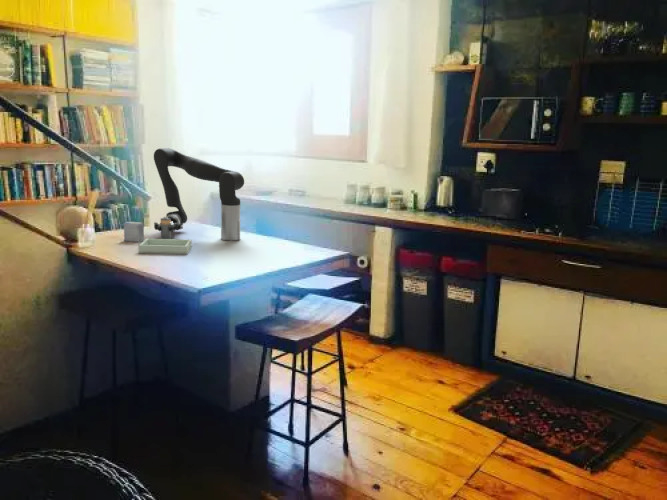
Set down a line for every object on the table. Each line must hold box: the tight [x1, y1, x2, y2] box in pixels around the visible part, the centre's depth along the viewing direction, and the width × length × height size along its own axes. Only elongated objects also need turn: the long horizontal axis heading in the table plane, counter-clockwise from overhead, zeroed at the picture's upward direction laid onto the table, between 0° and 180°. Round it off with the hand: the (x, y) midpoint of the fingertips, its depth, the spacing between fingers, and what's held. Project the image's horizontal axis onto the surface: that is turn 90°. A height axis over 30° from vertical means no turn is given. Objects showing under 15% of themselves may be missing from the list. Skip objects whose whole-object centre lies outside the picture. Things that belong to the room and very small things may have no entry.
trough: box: [138, 238, 193, 255], centre depth 247 cm, size 20×15×4 cm
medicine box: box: [123, 221, 145, 243], centre depth 263 cm, size 8×4×9 cm, turn 74°
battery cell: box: [160, 216, 172, 239], centre depth 262 cm, size 4×4×12 cm
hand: (164, 228), depth 259 cm, fingers closed on battery cell, 4 cm apart
